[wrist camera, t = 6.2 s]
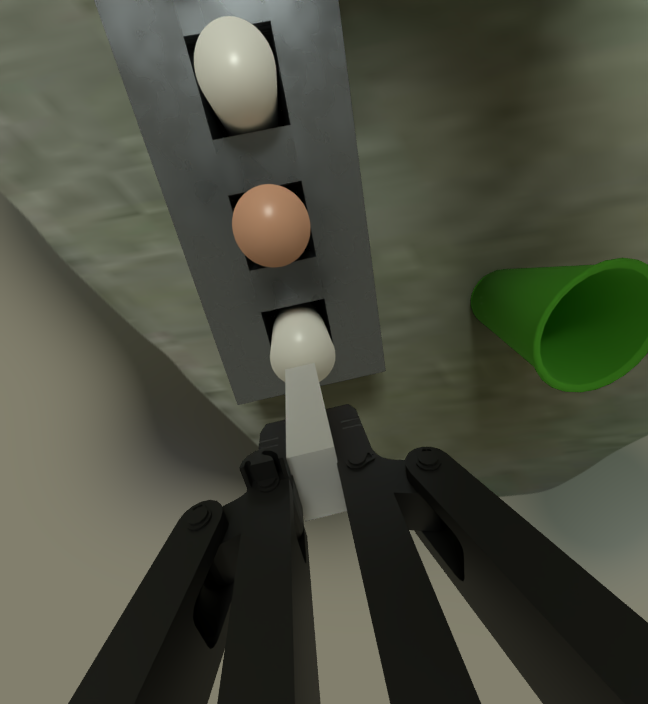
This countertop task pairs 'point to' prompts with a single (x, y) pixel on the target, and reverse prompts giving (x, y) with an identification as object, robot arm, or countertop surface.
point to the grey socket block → (257, 176)
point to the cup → (570, 319)
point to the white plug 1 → (237, 75)
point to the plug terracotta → (271, 225)
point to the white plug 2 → (301, 341)
